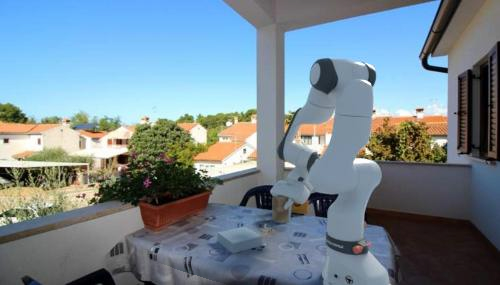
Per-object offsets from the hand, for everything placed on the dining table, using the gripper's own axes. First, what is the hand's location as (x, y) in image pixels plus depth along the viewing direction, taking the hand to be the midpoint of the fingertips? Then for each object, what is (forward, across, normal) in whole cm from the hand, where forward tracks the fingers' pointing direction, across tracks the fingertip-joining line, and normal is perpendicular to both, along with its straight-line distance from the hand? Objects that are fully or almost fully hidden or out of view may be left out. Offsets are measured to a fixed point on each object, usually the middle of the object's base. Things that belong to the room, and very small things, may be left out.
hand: (279, 206), depth 112 cm
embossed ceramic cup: (-4, -23, +26) cm, 35 cm away
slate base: (+21, -10, +1) cm, 23 cm away
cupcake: (-16, +10, +39) cm, 43 cm away
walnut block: (+4, 0, +5) cm, 6 cm away
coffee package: (-17, -30, +38) cm, 51 cm away
